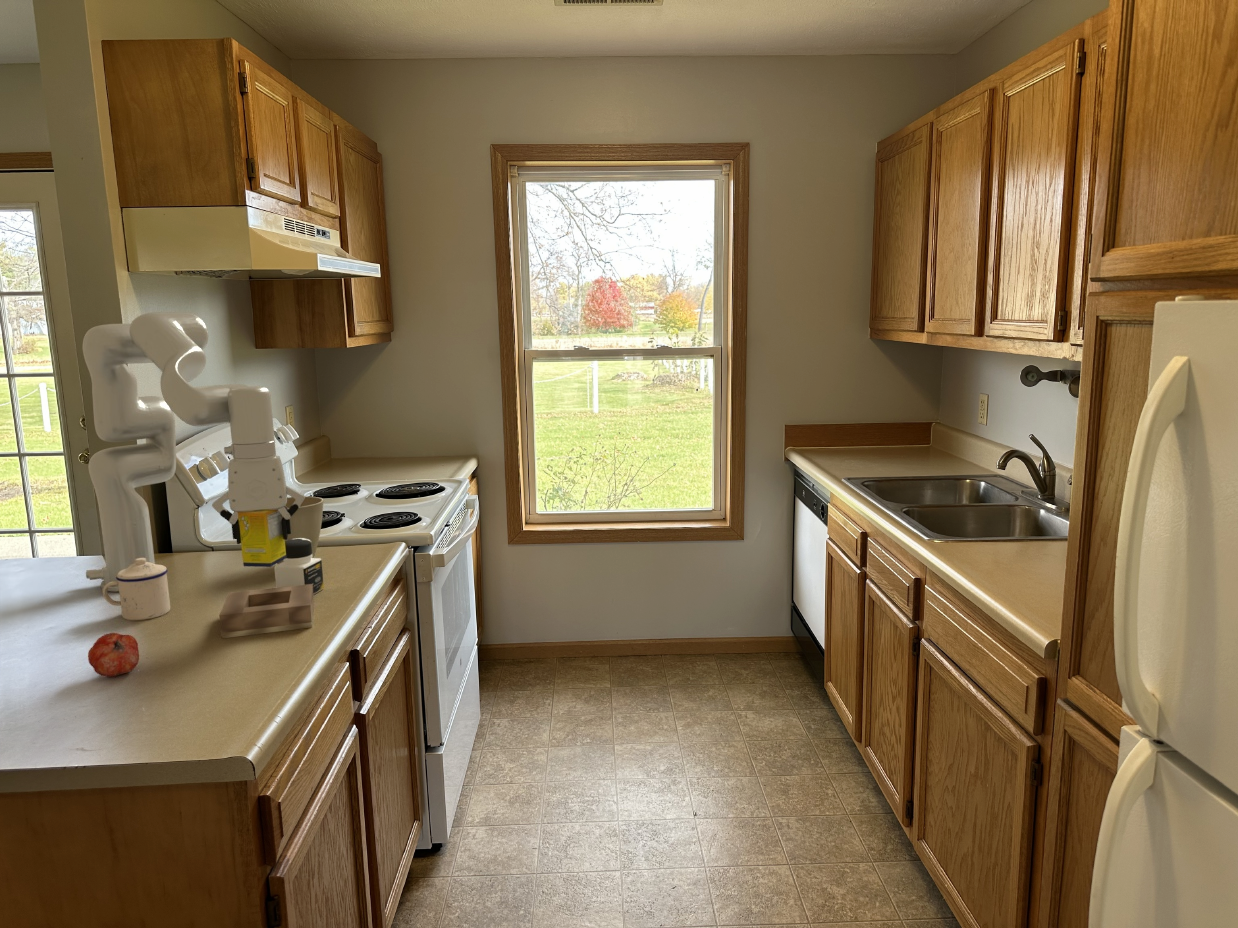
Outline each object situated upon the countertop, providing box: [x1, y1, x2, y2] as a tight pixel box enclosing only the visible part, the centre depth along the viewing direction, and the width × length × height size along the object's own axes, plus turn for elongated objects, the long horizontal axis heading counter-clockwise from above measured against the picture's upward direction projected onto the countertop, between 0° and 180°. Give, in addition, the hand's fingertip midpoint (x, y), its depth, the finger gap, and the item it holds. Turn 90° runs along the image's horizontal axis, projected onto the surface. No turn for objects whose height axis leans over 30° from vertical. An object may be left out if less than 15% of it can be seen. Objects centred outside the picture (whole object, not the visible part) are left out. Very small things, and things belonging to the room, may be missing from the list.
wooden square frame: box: [219, 584, 315, 639], centre depth 165 cm, size 16×14×4 cm
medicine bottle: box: [274, 538, 325, 596], centre depth 181 cm, size 7×7×12 cm
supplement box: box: [238, 509, 286, 568], centre depth 162 cm, size 6×6×11 cm
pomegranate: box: [87, 632, 140, 678], centre depth 141 cm, size 7×7×10 cm
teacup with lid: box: [102, 558, 171, 621], centre depth 170 cm, size 12×9×12 cm
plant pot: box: [276, 495, 324, 565], centre depth 202 cm, size 15×15×16 cm
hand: (262, 539), depth 163 cm, fingers closed on supplement box, 7 cm apart
